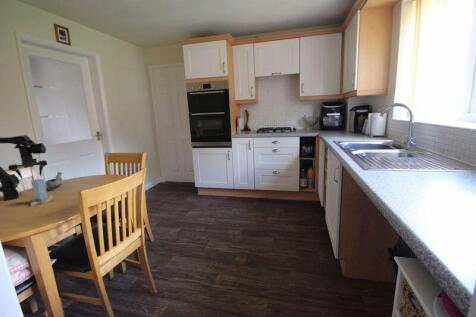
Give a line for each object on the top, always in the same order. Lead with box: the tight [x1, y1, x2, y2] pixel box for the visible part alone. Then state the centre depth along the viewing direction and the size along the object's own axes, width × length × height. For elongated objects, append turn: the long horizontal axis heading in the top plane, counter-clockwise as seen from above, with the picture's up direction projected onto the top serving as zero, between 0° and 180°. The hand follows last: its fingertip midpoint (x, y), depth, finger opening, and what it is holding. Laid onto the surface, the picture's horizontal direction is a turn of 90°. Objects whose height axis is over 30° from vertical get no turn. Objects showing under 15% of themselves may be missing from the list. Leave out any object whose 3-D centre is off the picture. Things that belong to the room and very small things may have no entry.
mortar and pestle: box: [44, 171, 63, 192], centre depth 167 cm, size 11×9×12 cm
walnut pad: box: [29, 195, 55, 207], centre depth 144 cm, size 11×10×1 cm
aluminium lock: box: [30, 178, 48, 201], centre depth 142 cm, size 4×5×13 cm
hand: (31, 177), depth 152 cm, fingers open, 9 cm apart
